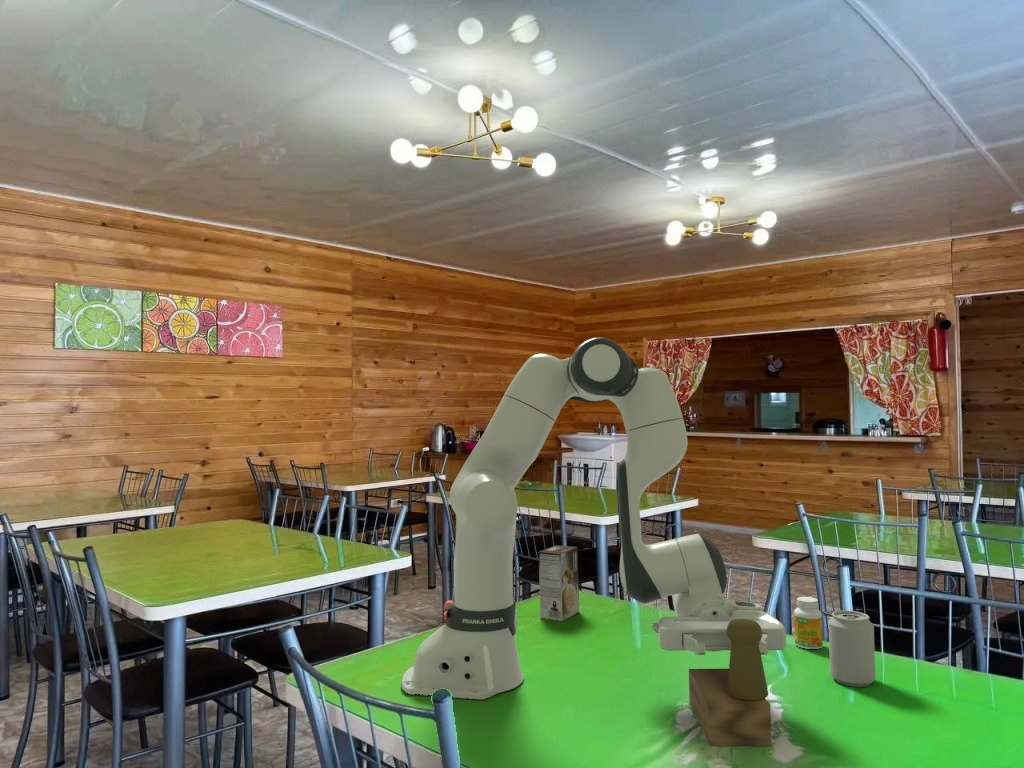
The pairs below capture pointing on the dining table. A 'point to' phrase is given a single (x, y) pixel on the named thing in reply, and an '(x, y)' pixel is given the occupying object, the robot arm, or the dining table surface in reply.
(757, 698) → the cork
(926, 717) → the dining table surface
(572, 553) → the coffee box
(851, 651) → the can
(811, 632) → the supplement bottle
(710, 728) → the walnut block
